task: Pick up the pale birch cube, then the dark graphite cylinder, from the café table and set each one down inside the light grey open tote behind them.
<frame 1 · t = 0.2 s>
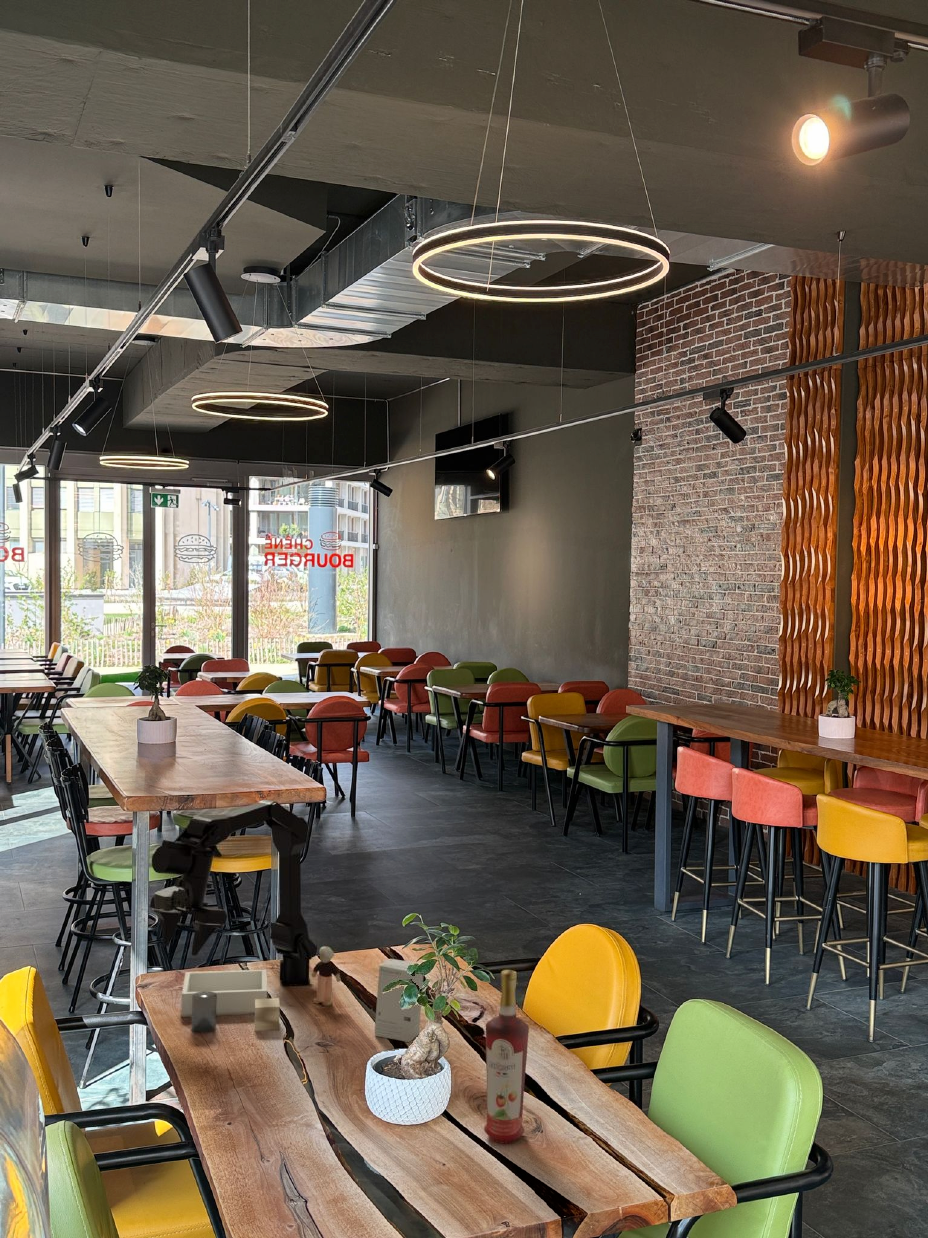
hand: (179, 950, 231), 15 cm above the table, tool pointing down, fingers open, 9 cm apart
wood cube: (266, 1026, 230), on the table
grandmother figurine: (324, 1004, 245), on the table
skincare box: (398, 1036, 228), on the table
metal cylinder: (203, 1028, 228), on the table
tote: (224, 1003, 242), on the table
liquor: (503, 1138, 185), on the table
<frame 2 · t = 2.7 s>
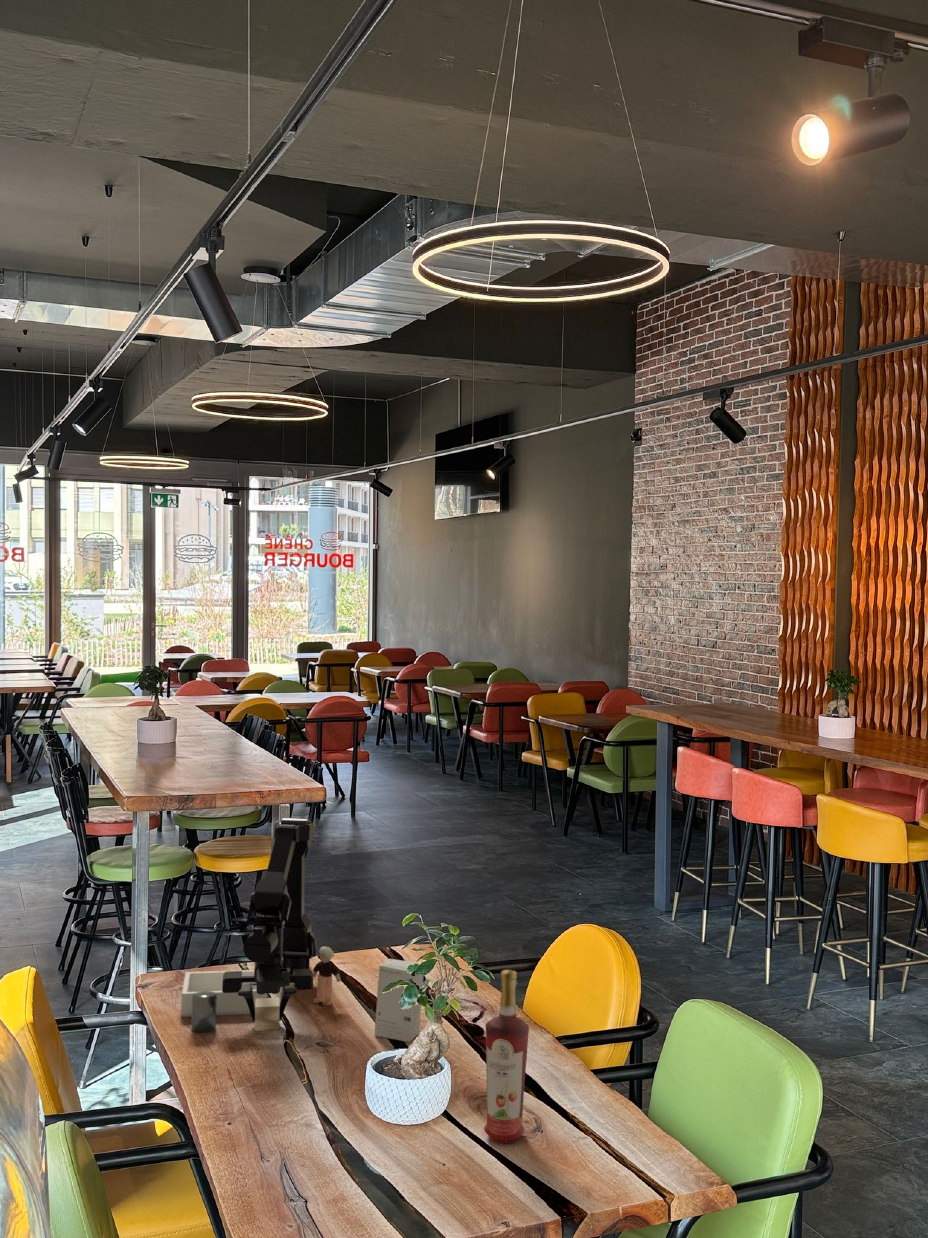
hand: (266, 1021, 230), 1 cm above the table, tool pointing down, fingers closed on wood cube, 5 cm apart
wood cube: (266, 1026, 230), on the table, touching gripper
everything else where it was.
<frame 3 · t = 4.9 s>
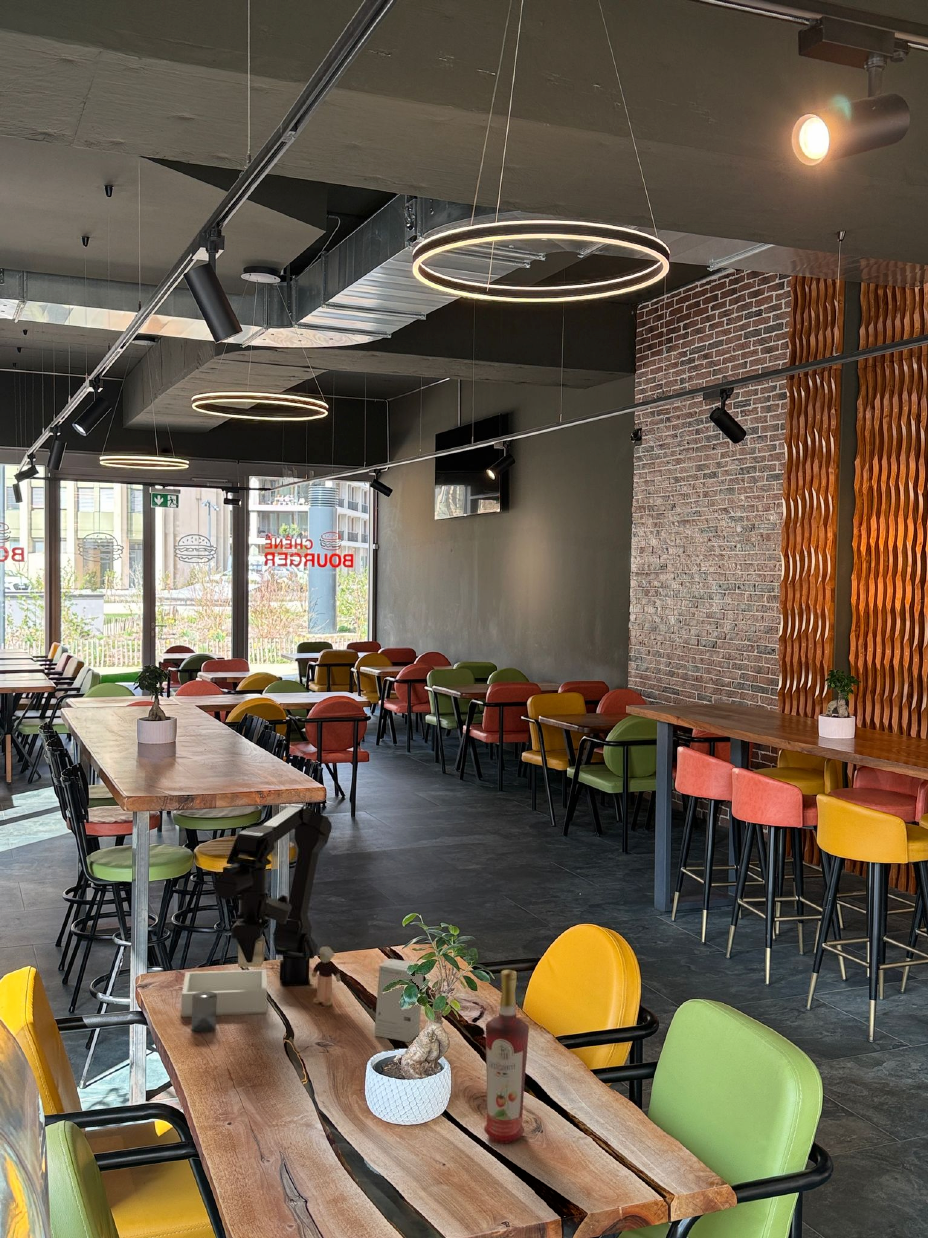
hand: (251, 958, 241), 11 cm above the table, tool pointing down, fingers closed on wood cube, 5 cm apart
wood cube: (251, 963, 241), point 10 cm above the table, touching gripper
everything else where it was.
when the fingers open (3 cm above the table, at t = 6.9 s): wood cube drops 2 cm, resting on tote.
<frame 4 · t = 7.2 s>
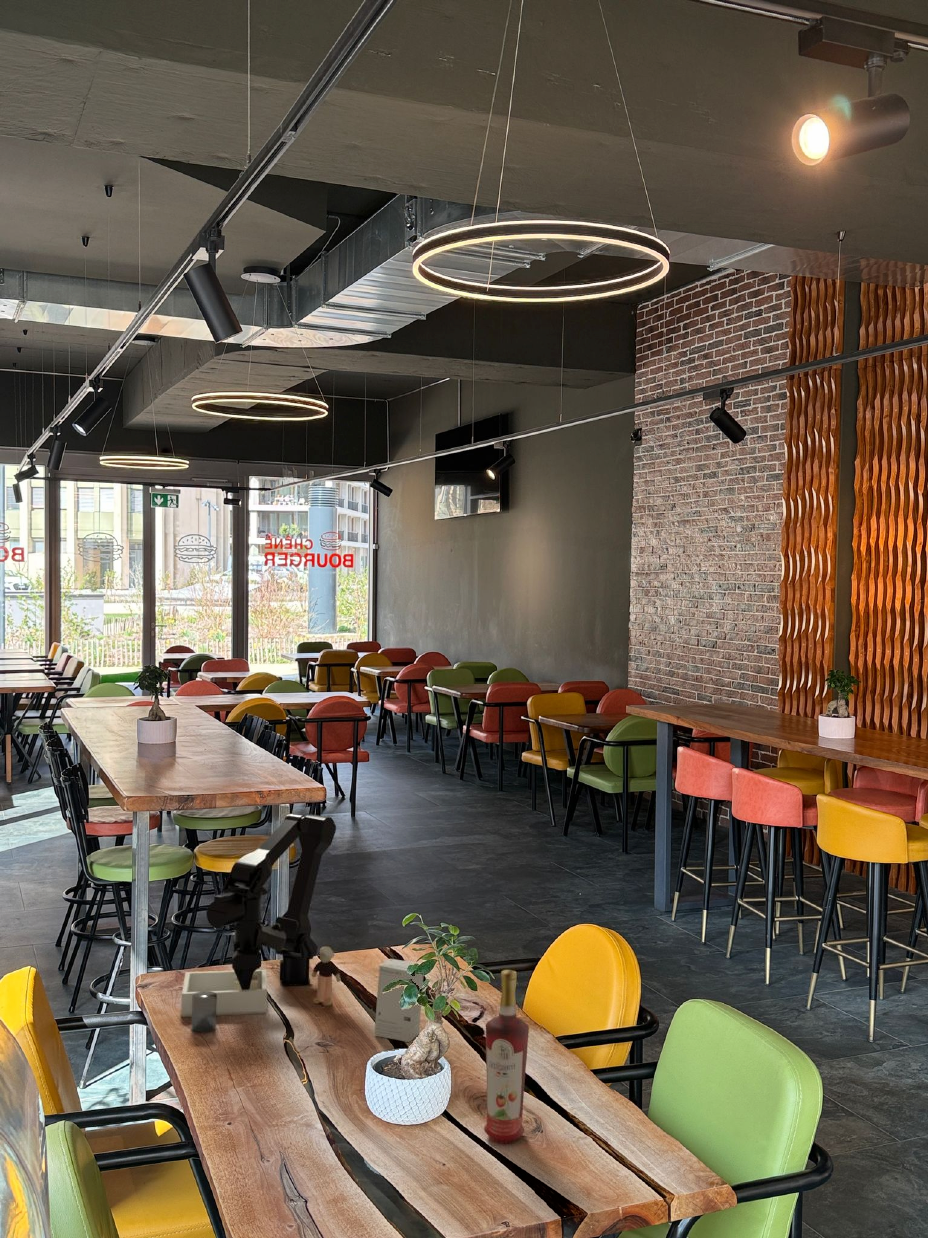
hand: (246, 987, 243), 3 cm above the table, tool pointing down, fingers open, 8 cm apart
wood cube: (245, 1000, 243), resting on tote
everything else where it was.
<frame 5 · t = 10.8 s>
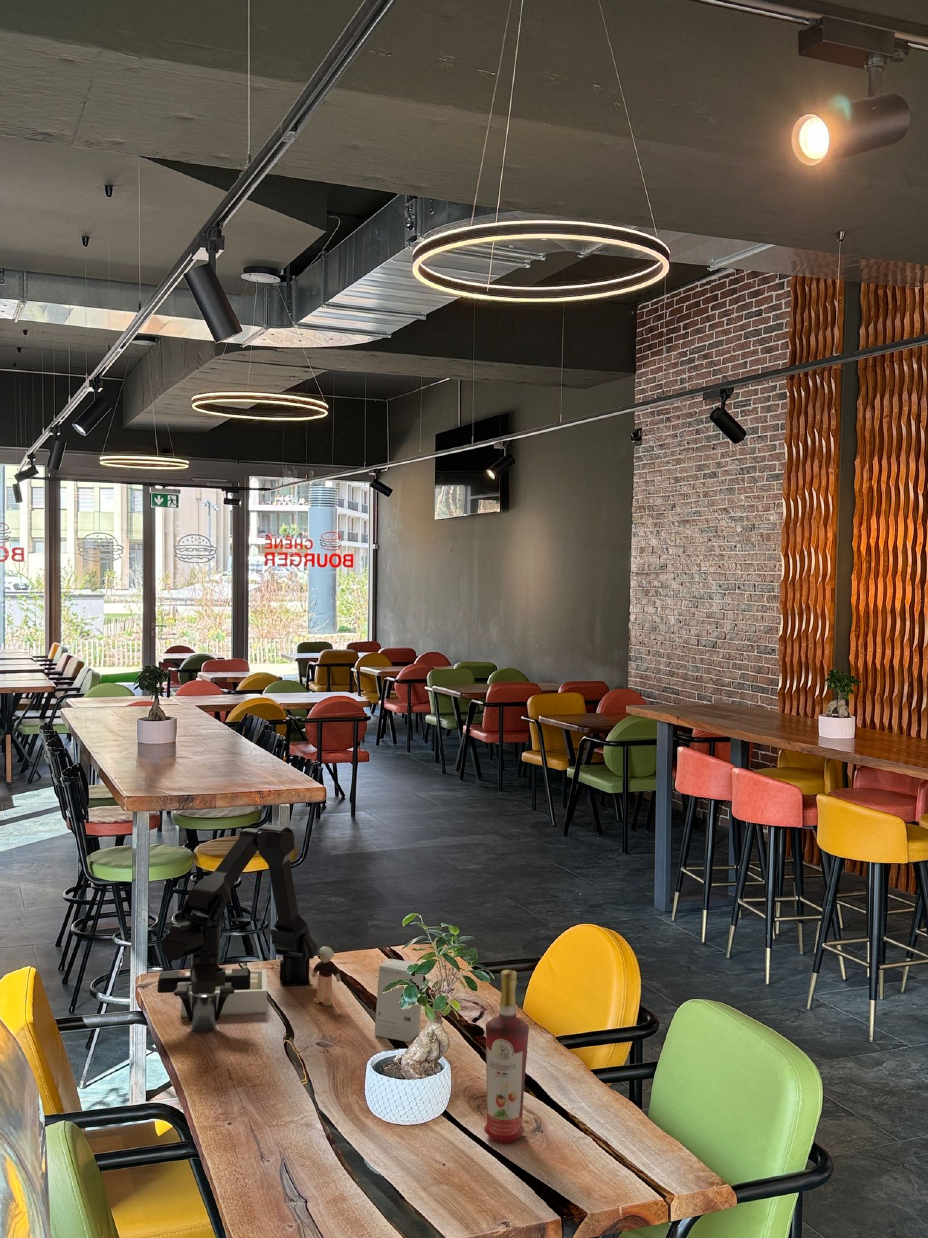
hand: (203, 1021, 228), 2 cm above the table, tool pointing down, fingers closed on metal cylinder, 5 cm apart
metal cylinder: (203, 1028, 228), on the table, touching gripper
everything else where it was.
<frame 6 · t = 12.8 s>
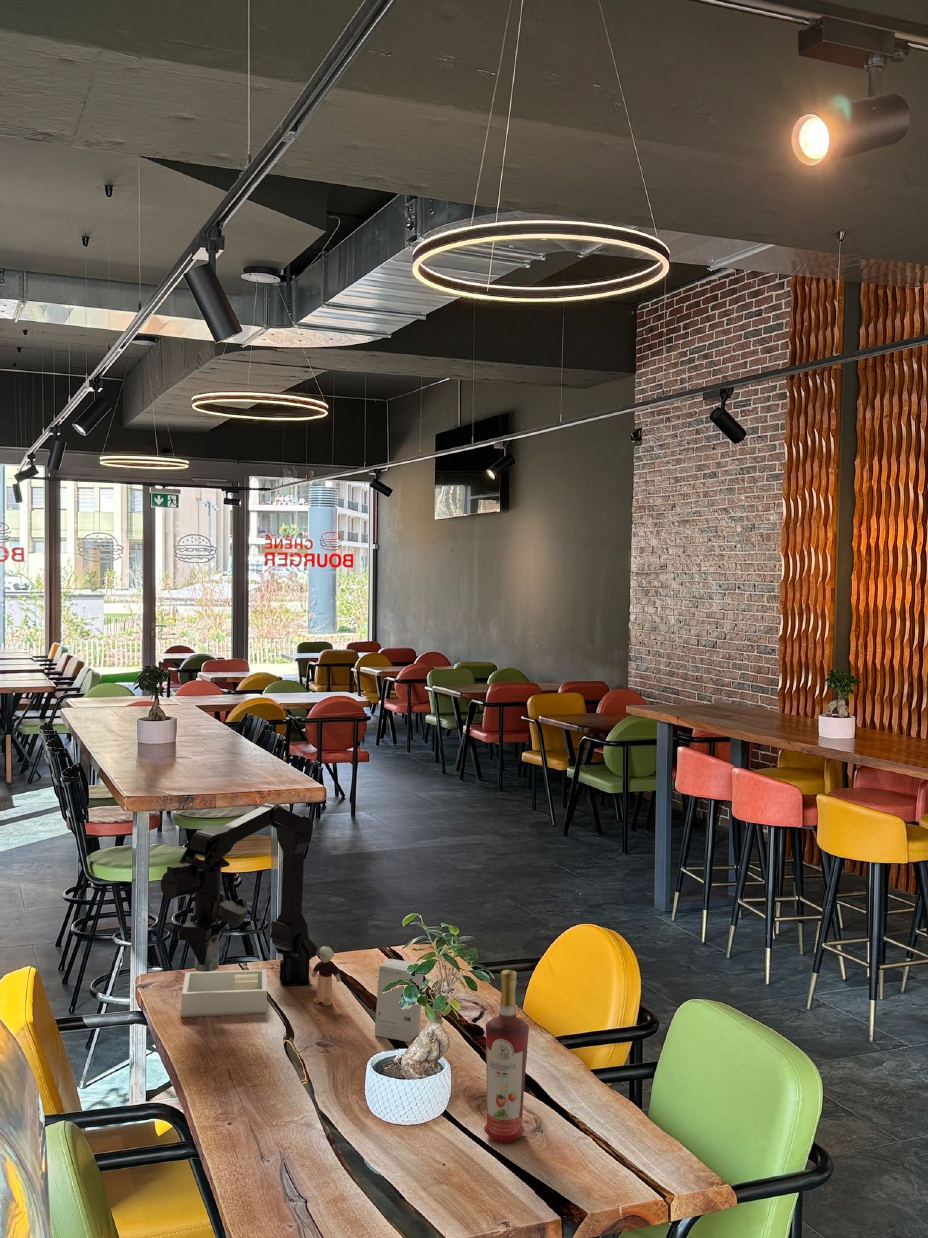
hand: (206, 960, 237), 11 cm above the table, tool pointing down, fingers closed on metal cylinder, 5 cm apart
metal cylinder: (206, 968, 237), point 9 cm above the table, touching gripper
everything else where it was.
when the fingers open (4 cm above the table, at t = 14.9 s): metal cylinder drops 2 cm, resting on tote.
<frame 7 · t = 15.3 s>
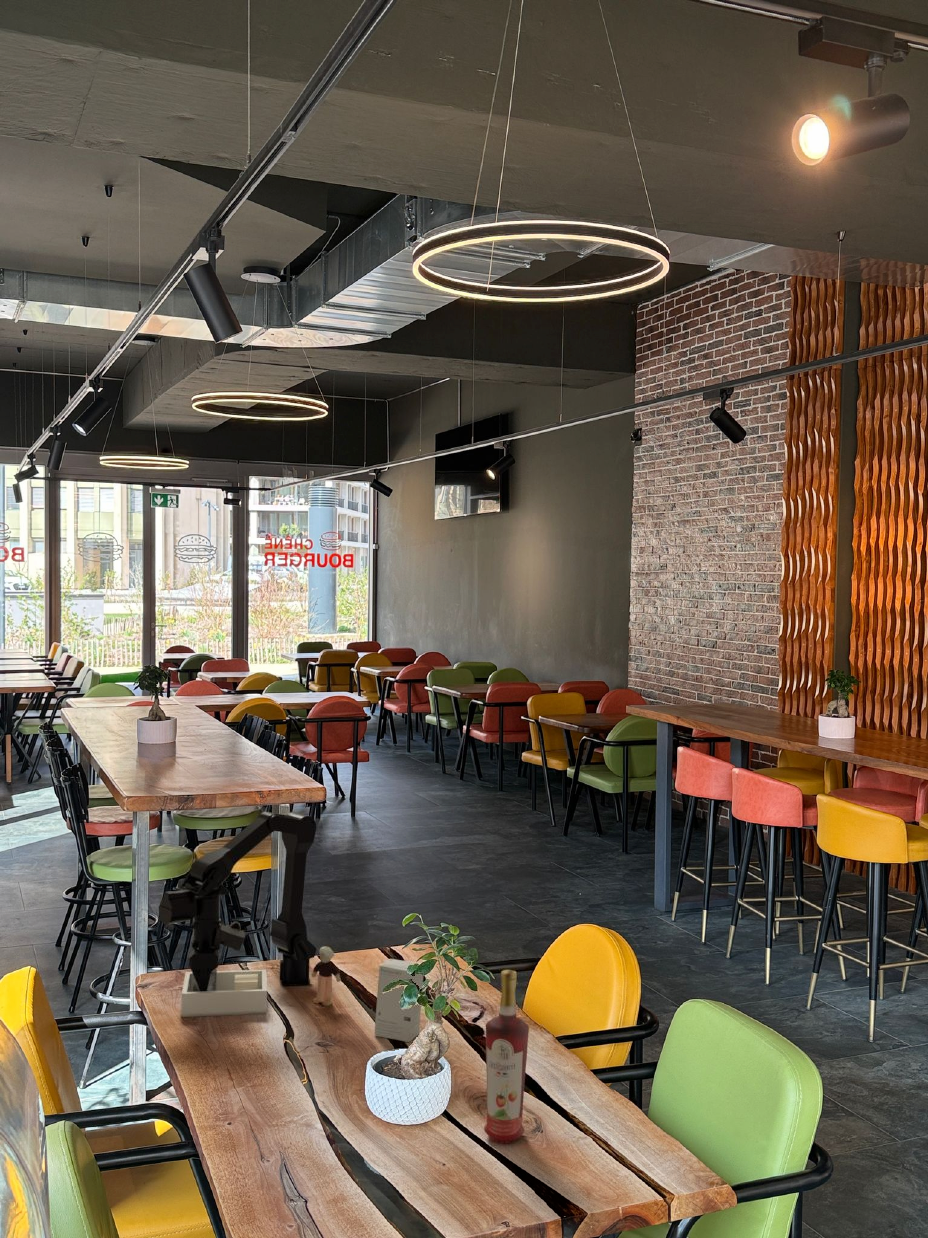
hand: (204, 986, 242), 4 cm above the table, tool pointing down, fingers open, 9 cm apart
metal cylinder: (204, 1002, 242), resting on tote
everything else where it was.
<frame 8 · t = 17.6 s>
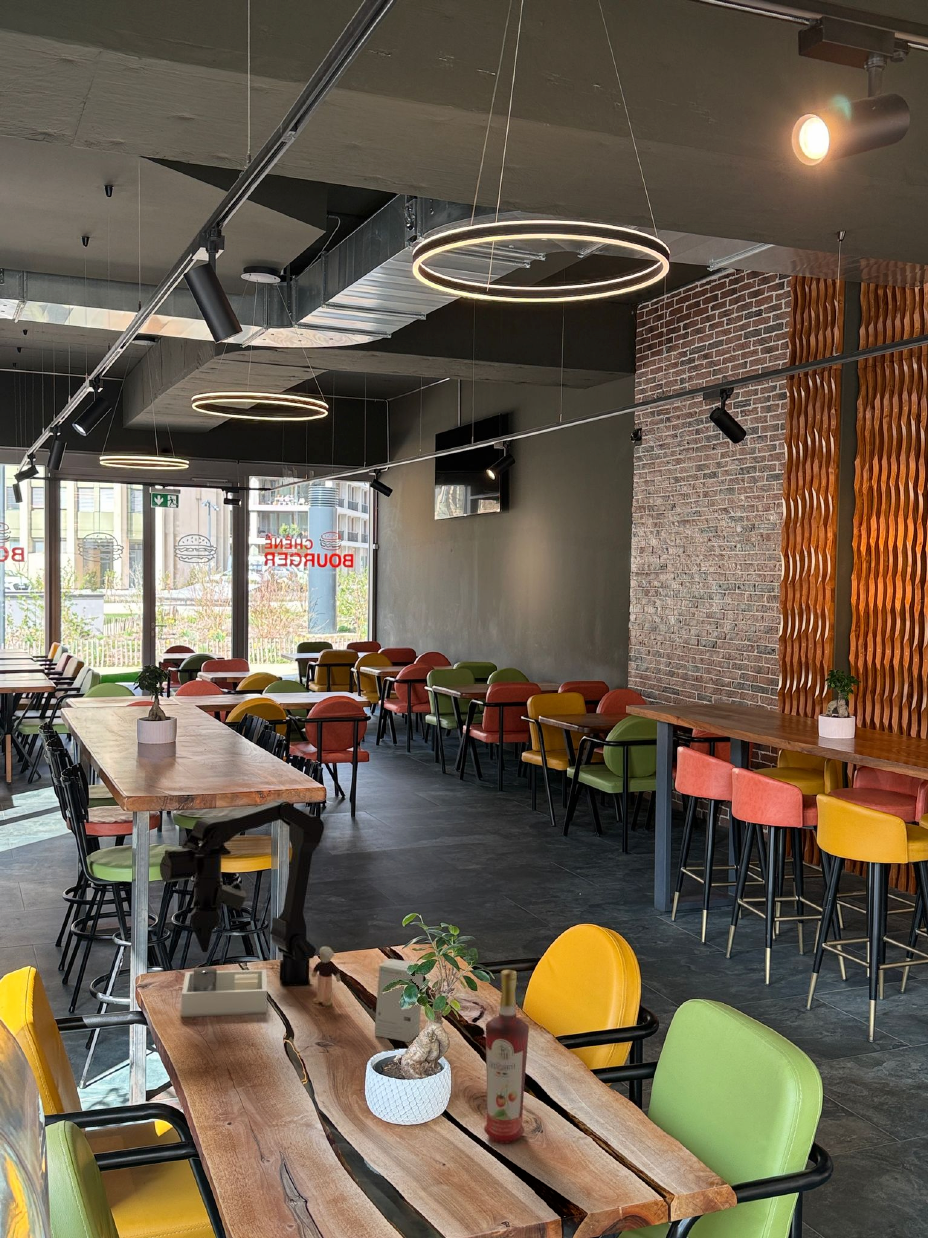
hand: (206, 945, 243), 12 cm above the table, tool pointing down, fingers open, 9 cm apart
nothing on the table moved.
at the end: wood cube inside the target area on the tote (4.5 cm from its centre), point 0.5 cm above the tote's base; metal cylinder inside the target area on the tote (4.5 cm from its centre), point 0.5 cm above the tote's base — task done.
